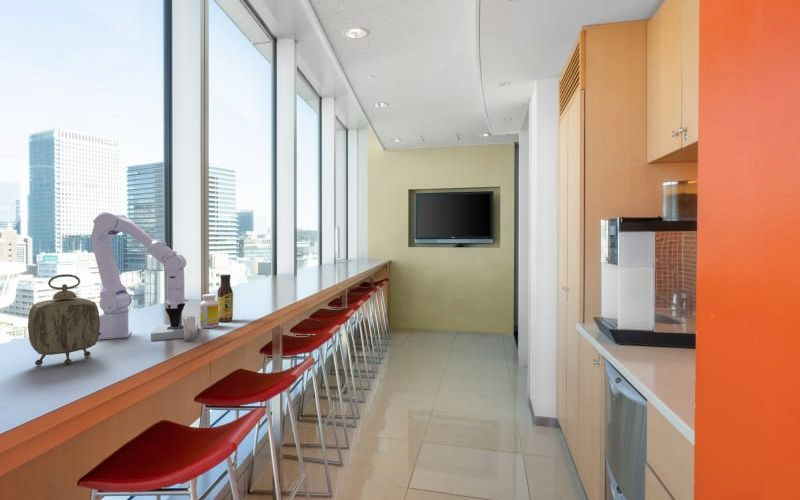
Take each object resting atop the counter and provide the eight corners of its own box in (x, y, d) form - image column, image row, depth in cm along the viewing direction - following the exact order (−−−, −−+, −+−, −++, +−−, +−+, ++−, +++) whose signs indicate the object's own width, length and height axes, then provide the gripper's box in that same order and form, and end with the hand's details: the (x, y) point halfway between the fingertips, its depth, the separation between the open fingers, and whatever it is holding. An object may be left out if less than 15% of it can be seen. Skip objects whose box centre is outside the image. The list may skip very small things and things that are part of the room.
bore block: (150, 340, 137) (150, 333, 137) (156, 332, 149) (156, 325, 149) (196, 336, 143) (196, 329, 143) (198, 328, 155) (197, 322, 155)
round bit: (183, 342, 135) (183, 318, 135) (183, 339, 138) (183, 316, 138) (195, 341, 136) (194, 318, 136) (195, 338, 140) (195, 316, 139)
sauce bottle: (226, 322, 167) (226, 275, 166) (213, 322, 168) (213, 275, 167) (236, 319, 173) (236, 274, 172) (223, 319, 174) (223, 273, 174)
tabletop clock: (93, 354, 120) (92, 272, 120) (102, 360, 115) (100, 273, 114) (28, 366, 109) (26, 275, 108) (34, 373, 103) (32, 277, 103)
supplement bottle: (221, 325, 162) (221, 293, 161) (212, 328, 155) (212, 296, 155) (206, 324, 162) (206, 293, 162) (196, 328, 156) (196, 295, 155)
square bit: (170, 335, 144) (170, 313, 143) (171, 333, 147) (171, 312, 147) (181, 334, 145) (181, 313, 145) (182, 332, 148) (182, 311, 148)
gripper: (186, 289, 141) (187, 328, 141) (188, 285, 154) (189, 320, 154) (163, 290, 138) (164, 329, 138) (167, 286, 151) (168, 322, 151)
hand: (175, 325), depth 146 cm, fingers open, 6 cm apart
